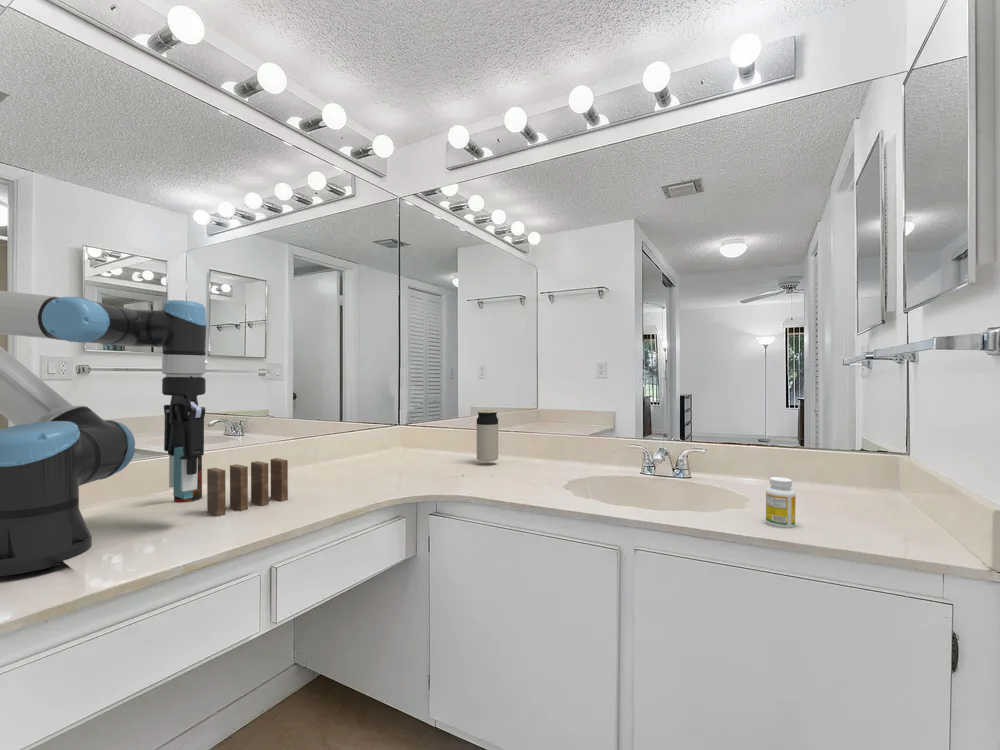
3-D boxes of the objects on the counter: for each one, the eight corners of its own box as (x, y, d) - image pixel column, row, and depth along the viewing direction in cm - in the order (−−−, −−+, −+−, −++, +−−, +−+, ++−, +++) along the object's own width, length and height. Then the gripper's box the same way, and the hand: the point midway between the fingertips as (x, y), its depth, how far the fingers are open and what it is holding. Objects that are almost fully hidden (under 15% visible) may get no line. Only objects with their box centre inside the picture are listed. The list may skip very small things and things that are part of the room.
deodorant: (169, 503, 117) (169, 441, 117) (179, 497, 122) (179, 438, 122) (197, 501, 118) (197, 441, 118) (205, 495, 124) (205, 437, 124)
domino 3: (240, 511, 110) (240, 467, 110) (230, 507, 113) (229, 465, 113) (247, 509, 111) (247, 466, 111) (236, 506, 114) (236, 464, 114)
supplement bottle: (777, 529, 97) (777, 482, 97) (760, 521, 102) (760, 476, 102) (801, 528, 97) (801, 481, 97) (783, 520, 103) (783, 475, 103)
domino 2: (218, 516, 106) (217, 471, 106) (207, 512, 109) (207, 468, 109) (225, 514, 107) (225, 470, 107) (214, 511, 110) (214, 467, 110)
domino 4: (262, 506, 114) (261, 464, 114) (251, 502, 117) (250, 462, 117) (268, 504, 115) (268, 463, 115) (257, 501, 118) (257, 461, 118)
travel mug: (498, 461, 171) (497, 411, 171) (475, 461, 172) (475, 411, 172) (498, 457, 179) (498, 409, 179) (477, 457, 180) (477, 409, 180)
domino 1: (184, 499, 97) (184, 450, 97) (173, 495, 100) (174, 447, 100) (192, 497, 98) (193, 449, 98) (181, 493, 101) (182, 446, 101)
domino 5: (281, 501, 118) (281, 461, 118) (270, 498, 121) (270, 459, 121) (287, 499, 119) (287, 460, 119) (276, 497, 122) (276, 458, 122)
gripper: (224, 376, 97) (223, 491, 97) (185, 375, 107) (183, 479, 107) (183, 376, 91) (182, 498, 91) (145, 375, 101) (144, 485, 101)
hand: (183, 487), depth 99 cm, fingers closed on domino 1, 5 cm apart
